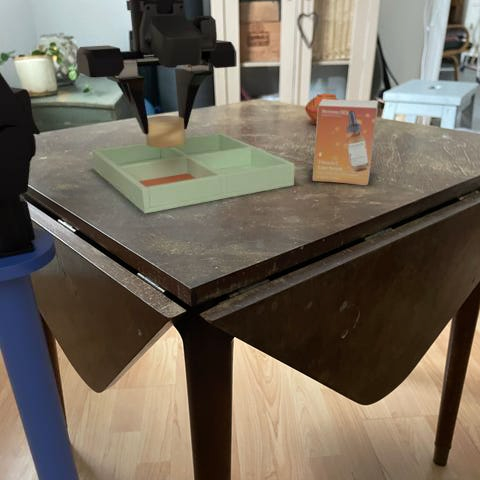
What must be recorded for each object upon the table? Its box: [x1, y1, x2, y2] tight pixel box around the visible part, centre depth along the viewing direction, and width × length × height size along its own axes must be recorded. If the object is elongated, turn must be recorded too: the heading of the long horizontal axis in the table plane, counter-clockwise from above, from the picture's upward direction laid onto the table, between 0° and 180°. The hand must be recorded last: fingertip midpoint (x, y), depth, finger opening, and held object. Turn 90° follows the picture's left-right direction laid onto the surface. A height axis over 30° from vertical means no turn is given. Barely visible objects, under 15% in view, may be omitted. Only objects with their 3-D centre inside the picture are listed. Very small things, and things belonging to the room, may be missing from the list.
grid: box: [91, 132, 296, 214], centre depth 80 cm, size 22×22×3 cm
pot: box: [304, 93, 339, 125], centre depth 108 cm, size 8×8×7 cm
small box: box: [312, 99, 379, 186], centre depth 76 cm, size 8×6×10 cm
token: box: [145, 115, 186, 148], centre depth 70 cm, size 5×5×3 cm
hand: (164, 131), depth 70 cm, fingers closed on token, 5 cm apart
